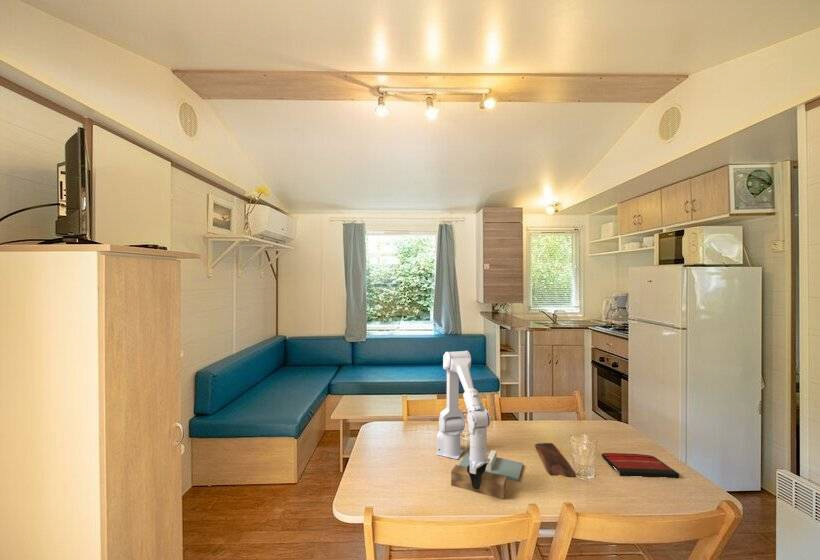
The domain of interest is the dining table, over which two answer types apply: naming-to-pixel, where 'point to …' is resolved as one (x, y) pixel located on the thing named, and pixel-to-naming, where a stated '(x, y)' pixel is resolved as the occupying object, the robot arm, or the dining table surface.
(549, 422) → the dining table surface
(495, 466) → the ridge stand
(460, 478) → the walnut bar
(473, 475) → the robot arm
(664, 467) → the binder
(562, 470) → the wooden tablet
